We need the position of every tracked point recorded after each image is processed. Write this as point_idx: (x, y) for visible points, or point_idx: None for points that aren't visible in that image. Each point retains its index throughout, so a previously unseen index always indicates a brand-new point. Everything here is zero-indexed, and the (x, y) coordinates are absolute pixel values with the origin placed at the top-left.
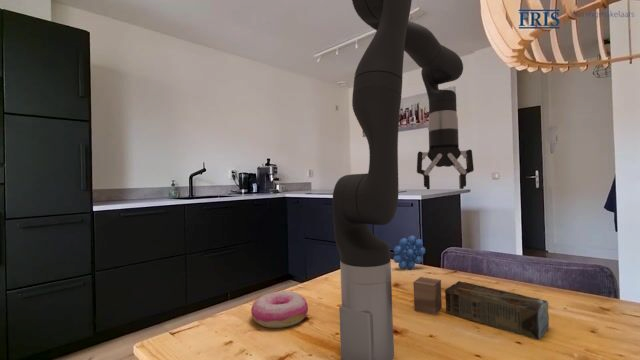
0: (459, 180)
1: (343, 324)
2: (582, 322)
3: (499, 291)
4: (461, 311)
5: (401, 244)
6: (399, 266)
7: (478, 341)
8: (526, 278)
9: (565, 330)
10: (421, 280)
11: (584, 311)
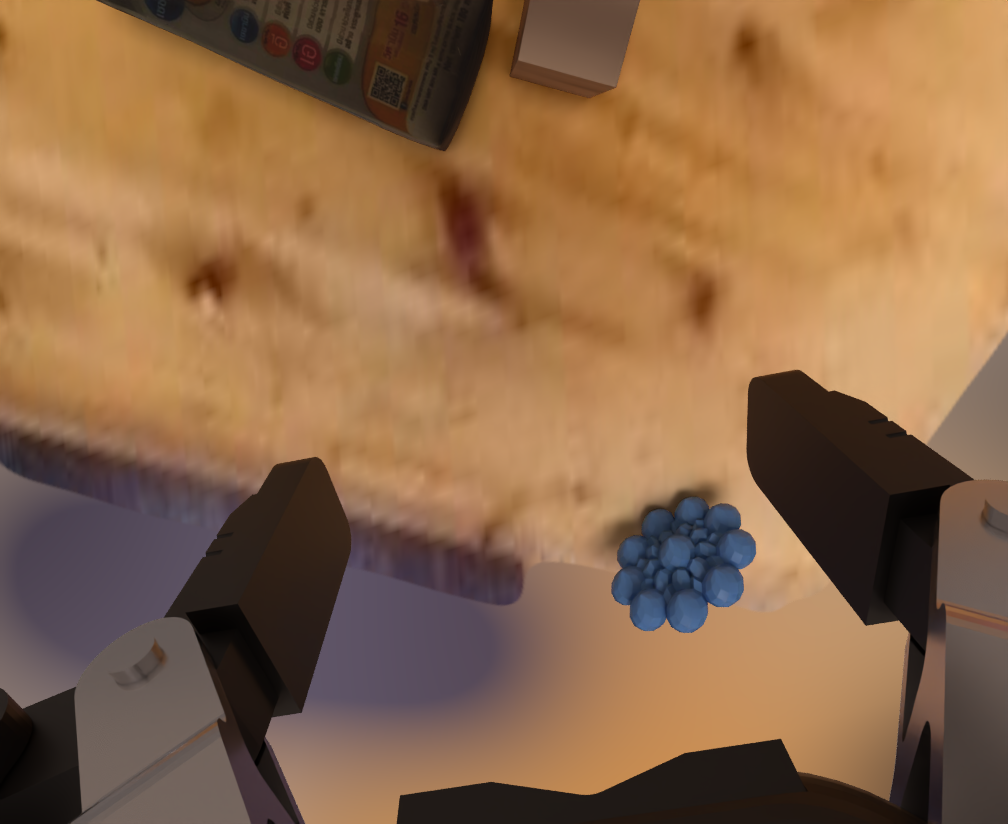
0: (318, 614)
1: None
2: (35, 118)
3: (256, 33)
4: None
5: (730, 566)
6: (702, 499)
7: None
8: None
9: (76, 4)
10: (610, 10)
11: (41, 240)
